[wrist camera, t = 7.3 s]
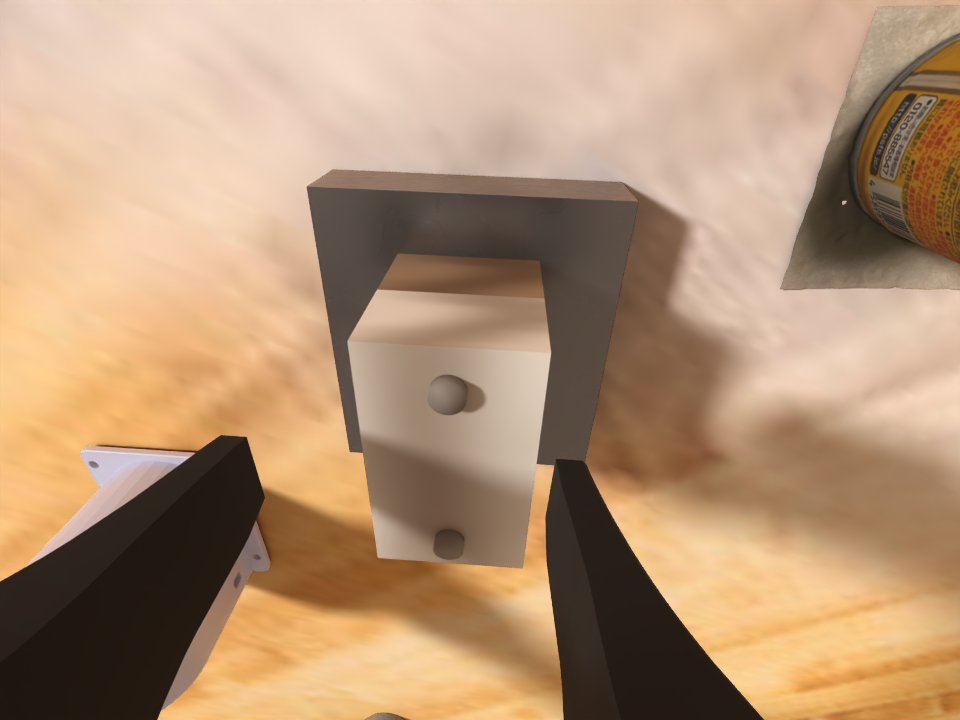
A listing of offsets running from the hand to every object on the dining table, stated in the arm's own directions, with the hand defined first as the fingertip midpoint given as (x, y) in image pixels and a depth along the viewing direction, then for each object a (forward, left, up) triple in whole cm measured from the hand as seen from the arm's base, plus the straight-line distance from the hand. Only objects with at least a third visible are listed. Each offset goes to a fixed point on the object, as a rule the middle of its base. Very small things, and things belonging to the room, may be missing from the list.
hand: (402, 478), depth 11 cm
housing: (-1, -1, -7) cm, 7 cm away
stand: (-1, -1, -9) cm, 9 cm away
